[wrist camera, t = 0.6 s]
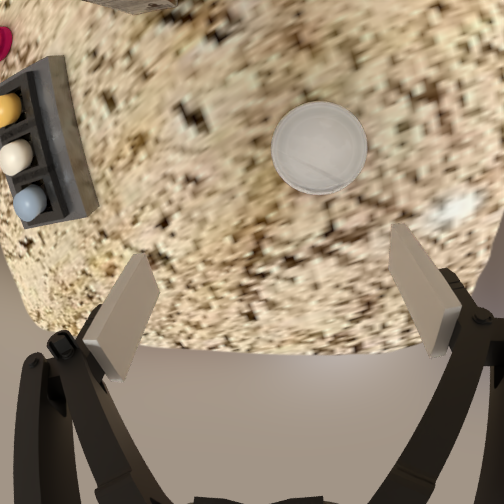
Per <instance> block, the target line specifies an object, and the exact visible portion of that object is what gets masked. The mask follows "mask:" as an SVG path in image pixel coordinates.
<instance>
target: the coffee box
mask: <svg viewBox="0 0 504 504" xmlns="http://www.w3.org/2000/svg"><path fill="white" fill-rule="evenodd" d="M82 1H86V2H91V3H94V4H98V5H102V6H106V7H109V8H112V9H116V10H119V11H123V12H126V13H129V14H132V15H136V14H141V13H145V12H150V11H155V10H160V9H166V8H171V7H176V6H177V5H178V0H82Z"/></svg>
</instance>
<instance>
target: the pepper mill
mask: <svg viewBox="0 0 504 504" xmlns="http://www.w3.org/2000/svg"><path fill="white" fill-rule="evenodd" d="M11 44H12V34H11V31H10V29H9V28H7V27H0V61H1V60H3V59H4V58H5V57H6V55H7V54H8V52H9V50H10V47H11Z"/></svg>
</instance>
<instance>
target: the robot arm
mask: <svg viewBox="0 0 504 504" xmlns="http://www.w3.org/2000/svg"><path fill="white" fill-rule="evenodd" d="M388 269H389V271H390V273H391V275H392V277H393V279H394V281H395V283H396V285H397V287H398V289H399V291H400V293H401V295H402V297H403V299H404V302H405V304H406V306H407V308H408V310H409V312H410V315H411V317H412V319H413V321H414V323H415V326H416V328H417V330H418V332H419V335H420V337H421V339H422V342H423V344H424V346H425V349H426V351H427V353H428V356H429V358H430V359H431V358H435V357H440V356H444V355H445V354H446V352H447V349H448V346H449V347H450V349H451V351H452V354H451V357H450V359H449V362H448V364H447V367H446V369H445V371H444V373H443V376H442V378H441V380H440V382H439V384H438V387H437V389H436V391H435V393H434V395H433V397H432V400H431V401H430V403H429V405H428V407H427V409H426V411H425V413H424V415H423V417H422V419H421V421H420V423H419V424H418V426H417V428H416V430H415V432H414V434H413V435H412V437H411V439H410V441H409V442H408V444H407V446H406V447H405V449H404V451H403V452H402V454H401V456H400V457H399V459H398V461H397V462H396V464H395V465H394V467H393V468H392V470H391V471H390V473H389V474H388V476H387V477H386V479H385V480H384V482H383V483H382V485H381V486H380V487H379V489H378V490H377V492H376V493H375V494H374V496H373V497H372V499H371V500H370V501H369V503H368V504H426V503H427V501H428V500H429V498H430V496H431V494H432V492H433V491H434V488H435V482H436V480H437V478H438V476H439V474H440V472H441V470H442V468H443V466H444V464H445V462H446V460H447V458H448V456H449V454H450V452H451V450H452V448H453V446H454V444H455V441H456V439H457V437H458V435H459V432H460V430H461V427H462V425H463V423H464V420H465V418H466V415H467V413H468V410H469V408H470V405H471V402H472V400H473V397H474V394H475V391H476V388H477V385H478V382H479V379H480V376H481V373H482V370H483V366H490V397H489V412H488V423H487V433H486V441H485V449H484V455H483V461H482V468H481V473H480V478H479V483H478V488H477V492H476V496H475V501H474V504H504V318H494V316H493V315H492V313H491V312H490V311H488V310H487V309H484V308H481V307H478V306H477V305H476V303H475V302H474V300H473V299H472V297H471V296H470V294H469V293H468V291H467V290H466V288H464V286H463V284H462V283H461V282H460V280H459V278H458V277H457V276H456V274H455V273H453V272H452V271H451V270H449V269H448V268H442V269H438V268H437V267H436V265H435V264H434V262H433V261H432V259H431V258H430V257H429V255H428V254H427V252H426V251H425V250H424V248H423V247H422V245H421V244H420V243H419V241H418V240H417V239H416V237H415V236H414V235H413V233H412V232H411V231H410V229H409V228H408V227H407V225H406V224H405V223H398V224H391V238H390V253H389V266H388ZM159 294H160V291H159V288H158V286H157V283H156V280H155V278H154V275H153V273H152V270H151V267H150V265H149V262H148V259H147V256H146V254H145V253H140V254H133V255H132V257H131V259H130V260H129V262H128V263H127V265H126V266H125V268H124V270H123V271H122V273H121V274H120V276H119V278H118V279H117V281H116V282H115V284H114V286H113V287H112V289H111V291H110V292H109V294H108V296H107V297H106V299H105V301H104V302H103V304H99V305H98V306H97V307H96V308H95V309H94V310H93V311H92V312H91V314H90V315H89V317H88V320H86V322H85V324H84V326H83V327H82V329H81V331H80V332H79V334H78V336H77V338H76V340H74V338H73V336H72V335H71V333H70V332H69V331H67V330H61V331H59V332H56V333H55V334H54V335H52V336H51V337H50V339H49V340H48V342H47V348H48V349H49V351H50V352H51V354H52V355H53V356H54V358H50V359H45V357H44V356H43V355H42V353H39V352H37V353H33V354H31V355H30V356H28V357H27V358H26V360H25V361H24V364H23V367H22V373H21V380H20V387H19V394H18V402H17V412H16V423H15V436H14V464H13V465H14V466H13V470H14V471H13V475H14V477H13V478H14V504H81V499H80V493H79V487H78V479H77V471H76V464H75V453H74V441H73V426H72V420H73V423H74V426H75V429H76V432H77V435H78V438H79V441H80V443H81V446H82V448H83V451H84V454H85V457H86V459H87V462H88V464H89V466H90V469H91V471H92V474H93V476H94V478H95V481H96V483H97V486H98V488H97V489H95V495H96V499H97V501H98V503H99V504H173V503H172V502H171V500H169V498H168V497H167V496H166V495H165V493H164V492H163V491H162V489H161V487H160V486H159V485H158V483H157V481H156V480H155V478H154V476H153V475H152V473H151V471H150V470H149V468H148V466H147V465H146V463H145V461H144V460H143V458H142V456H141V454H140V453H139V451H138V449H137V447H136V446H135V444H134V442H133V440H132V438H131V436H130V434H129V432H128V430H127V429H126V427H125V425H124V423H123V421H122V419H121V417H120V415H119V413H118V410H117V408H116V406H115V404H114V402H113V400H112V398H111V396H110V394H109V391H108V389H107V387H106V385H105V383H104V382H103V380H102V378H103V376H104V374H106V376H107V377H108V379H109V380H110V381H113V382H124V381H125V379H126V376H127V373H128V371H129V368H130V366H131V363H132V360H133V358H134V355H135V353H136V350H137V348H138V345H139V343H140V340H141V338H142V335H143V333H144V330H145V328H146V325H147V323H148V320H149V318H150V316H151V313H152V311H153V308H154V306H155V304H156V301H157V299H158V297H159ZM189 504H242V503H239V502H235V501H231V500H227V499H221V498H206V497H194V502H193V503H189ZM272 504H337V503H332V502H327V501H323V496H318V497H317V496H316V497H305V498H291V499H287V500H284V501H279V502H276V503H272Z"/></svg>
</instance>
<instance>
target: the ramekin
mask: <svg viewBox="0 0 504 504" xmlns="http://www.w3.org/2000/svg"><path fill="white" fill-rule="evenodd" d="M271 156H272V161H273V164H274V166H275V169H276V171H277V172H278V174H279V175H280V177H281V178H282V179H283V180H284V181H285V182H286V183H287V184H288V185H290V186H291V187H293V188H294V189H296V190H298V191H300V192H303V193H307V194H312V195H325V194H331V193H334V192H337V191H339V190H341V189H343V188H345V187H346V186H348V185H349V184H350V183H352V182H353V181H354V180H355V178H356V177H357V176H358V175H359V173H360V172H361V170H362V168H363V166H364V164H365V161H366V157H367V138H366V134H365V131H364V129H363V127H362V125H361V123H360V122H359V120H358V119H357V117H356V116H354V115H353V114H352V113H351V112H350V111H349V110H347V109H346V108H344V107H342V106H340V105H338V104H335V103H332V102H326V101H313V102H308V103H304V104H301V105H299V106H297V107H295V108H293V109H292V110H290V111H289V112H288V113H287V114H286V115H285V116H284V117H283V118H282V119H281V120H280V122H279V123H278V125H277V126H276V128H275V131H274V133H273V136H272V141H271Z"/></svg>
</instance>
